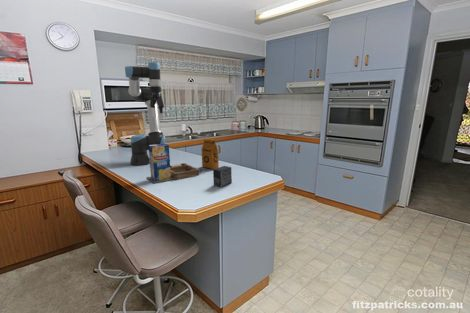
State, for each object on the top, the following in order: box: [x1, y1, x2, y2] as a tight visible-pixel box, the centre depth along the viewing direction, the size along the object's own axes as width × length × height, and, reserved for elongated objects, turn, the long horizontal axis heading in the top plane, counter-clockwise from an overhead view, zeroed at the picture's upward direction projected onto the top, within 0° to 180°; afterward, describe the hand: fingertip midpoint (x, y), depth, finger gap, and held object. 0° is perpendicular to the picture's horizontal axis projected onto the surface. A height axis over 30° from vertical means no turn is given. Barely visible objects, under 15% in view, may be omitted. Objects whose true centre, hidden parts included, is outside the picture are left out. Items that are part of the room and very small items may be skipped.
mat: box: [146, 176, 176, 185], centre depth 165 cm, size 14×14×1 cm
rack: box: [170, 162, 200, 181], centre depth 177 cm, size 22×17×4 cm
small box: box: [212, 165, 233, 188], centre depth 154 cm, size 11×6×10 cm, turn 141°
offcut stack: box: [170, 163, 182, 168], centre depth 183 cm, size 4×10×4 cm, turn 122°
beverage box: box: [148, 143, 171, 181], centre depth 163 cm, size 7×11×22 cm, turn 127°
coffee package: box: [201, 138, 220, 170], centre depth 190 cm, size 10×12×22 cm
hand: (157, 117), depth 177 cm, fingers open, 13 cm apart
